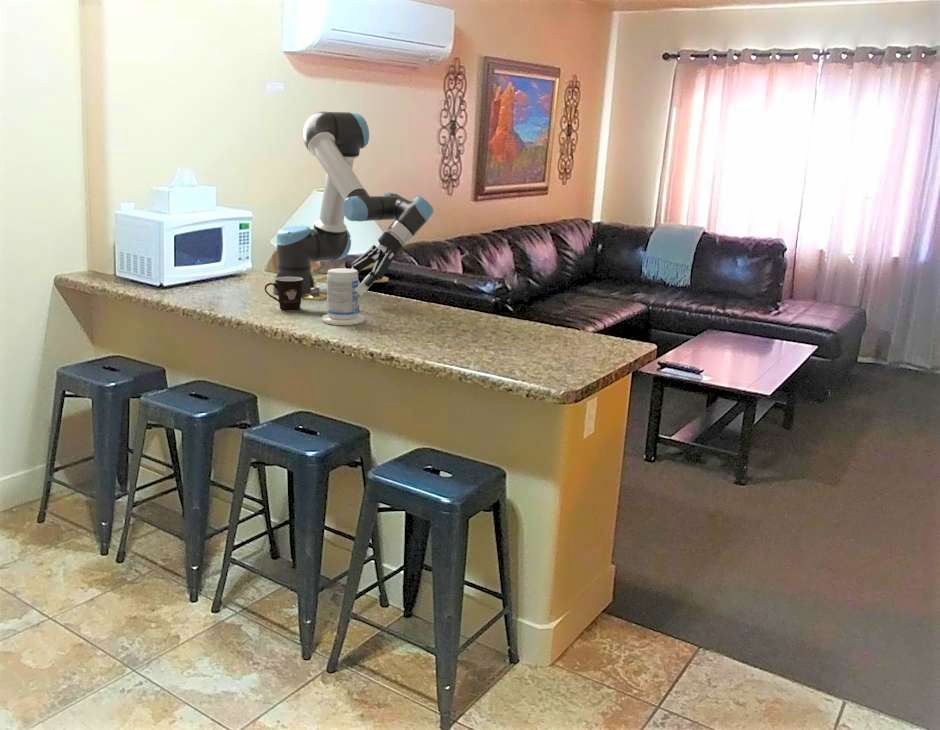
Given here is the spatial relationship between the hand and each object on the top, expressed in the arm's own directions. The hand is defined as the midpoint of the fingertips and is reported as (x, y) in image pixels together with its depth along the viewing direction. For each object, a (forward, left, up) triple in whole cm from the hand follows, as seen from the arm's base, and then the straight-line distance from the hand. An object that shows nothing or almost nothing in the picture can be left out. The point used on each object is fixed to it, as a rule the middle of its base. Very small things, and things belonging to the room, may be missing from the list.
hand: (349, 289), depth 276 cm
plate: (0, -2, -10) cm, 10 cm away
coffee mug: (-24, -13, -10) cm, 29 cm away
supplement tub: (-1, -2, -9) cm, 9 cm away
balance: (-16, +5, -10) cm, 20 cm away
